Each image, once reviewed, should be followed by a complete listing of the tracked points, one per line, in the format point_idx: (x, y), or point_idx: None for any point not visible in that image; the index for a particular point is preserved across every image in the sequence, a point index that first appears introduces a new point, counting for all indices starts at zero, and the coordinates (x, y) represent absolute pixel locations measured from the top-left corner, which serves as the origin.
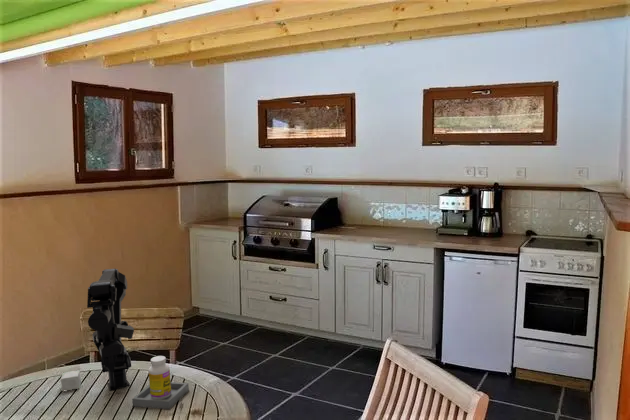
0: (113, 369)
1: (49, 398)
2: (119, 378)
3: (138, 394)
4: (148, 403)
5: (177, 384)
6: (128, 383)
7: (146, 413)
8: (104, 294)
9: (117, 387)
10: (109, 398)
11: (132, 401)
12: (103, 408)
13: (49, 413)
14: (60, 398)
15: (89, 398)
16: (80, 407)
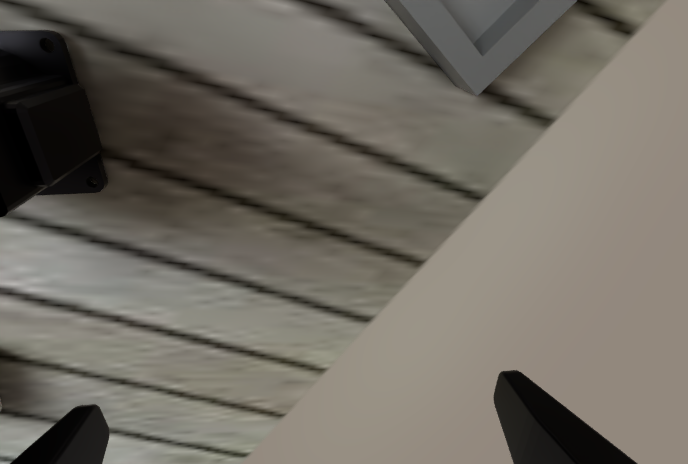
0: (544, 398)
1: None
2: (51, 141)
3: (437, 27)
4: None
5: None
6: (21, 37)
7: (632, 19)
8: None
9: (99, 143)
10: (231, 205)
11: (469, 91)
12: (357, 248)
13: (253, 439)
14: None
15: (167, 302)
16: (267, 342)
